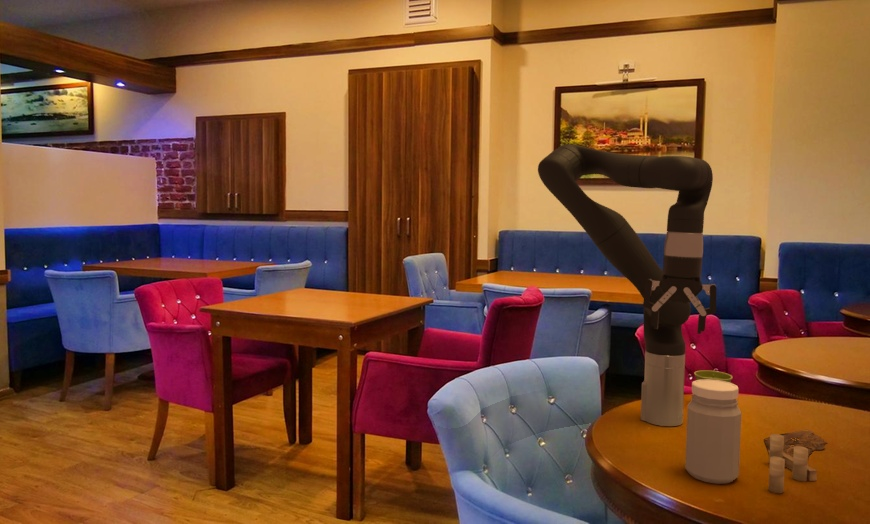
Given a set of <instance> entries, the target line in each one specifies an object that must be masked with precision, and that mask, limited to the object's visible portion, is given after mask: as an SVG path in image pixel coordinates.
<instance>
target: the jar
mask: <svg viewBox="0 0 870 524" xmlns="http://www.w3.org/2000/svg"><path fill="white" fill-rule="evenodd" d="M739 391H740V390H739V387H738V385H736V384H734V383H733V382H731V381H730V382H725V381H720V380H710V379H703V380H696V379H695V380H693V381H692V382H691V393H692V394H691V400H690V402H688V404H687V411H686V412H687V414H686V417H687V418H686V440H685V470H686V471H687V473H688V474H689V475H690V476H692V477H693V479H697V480H699V481H702V482H703V483H710V484H716V485H717V484H718V485H720V484H723V485H724V484H729V483H731V482H734V481H735V480H736V479H737V478H738V477H739V476H740V455H741V435H742V433H741V432H742V431H741V430H742V426H741V425H742V412H741V409H740V407H739V406H738V405H739V402H738V400H737V399H738V398H739ZM733 480H734V481H733Z"/></svg>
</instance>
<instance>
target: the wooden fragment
mask: <svg viewBox="0 0 870 524" xmlns="http://www.w3.org/2000/svg"><path fill="white" fill-rule="evenodd" d="M807 430H808V431H803V430H797V431H794V432H793V431H792V432H785V433H780V434H779V435H782V436H784V445H783V453H786V454H788V455H790V456H791V457H793V455H794V447H795V446H801V447H805V448H807V449H808V458H810V455H812V454H813V452H814V451H816V452H817V451H821V450H824V449H826V447H825V444H828V442H827V441H825V440H824V439H823V438H822V437H821V436H818V435H817V434H815V432H814V431H812V430H810V429H807ZM791 438H792V439H794V440H792V439H791ZM795 438H796V439H795ZM797 439H799V440H797ZM763 440H764V442H765V445H766V448H767V452H768V455H770V436H769V437H765V439H763ZM795 440H796V441H795ZM791 445H794V446H791Z"/></svg>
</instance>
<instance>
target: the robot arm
mask: <svg viewBox="0 0 870 524" xmlns="http://www.w3.org/2000/svg"><path fill="white" fill-rule="evenodd" d="M537 174H538V177H539V179H540V180H541V182H542V184H543V185H544V186H545V188H547V190H548V191H549V192H550V193H551V194H552V195H553V197H555V198H556V200H558V201H559V203H560V204H561V205H562V206H564V208H565V209H566V210H567V211H568V212H569V213H570V214H571V215H572V217H574V219H575V220H576V221H577V223H578V224H579V225H580V227H582V229H583V230H584V231H585V232H586V234H587V235H588V237H589V239H591V241H592V242H593V243H594V245H595V246H596V247H597V248H598V250H599V251H600V252H601V254H602V255H603V257H604V258H606V260H607V261H608V262H609V263H610V264H611V266H613V267H614V268H615V269H616V270H617V271H618V272H619V273H620V274H621V275H623V276H624V278H626V279H627V280H628V281H629V282H630V283H631V284H632V285H633V286H634V287H635V288H636V289H637V292H639V294H640V295H641V297H642V298H643V302H642V306H643V338H644V339H643V340H644V344H645V346H644V350H645V351H644V353H645V354H644V380H643V382H641V396H640V397H641V403H640V421H644V422H647V423H649V424H651V425H655V426H661V427H677V426H681V425H682V424H683V421H684V400H685V399H684V397H685V396H684V395H685V370H686V368H685V366H686V364H685V363H686V342H685V339H684V336H683V332H682V331H683V330H682V325H683V324H686V322H688V320H689V319H690V316H691V311H692V307H691V304H692V305H693V306H694V308H695V309H696V310H697V312H698V313H699V314H698V321H697V332H696V334H697V335H701V334H702V332H705V330H706V320H707V317H708V316H709V315H714V314H716V313H717V285H716V284H715V283H711V284H703V283H702V281H701V280H702V279H701V278H702V269H703V267H702V266H703V254H704V238H703V237H704V234H703V232H704V225H705V223H704V222H705V212H706V211H705V210H706V208H707V205H708V202H709V199H710V196H711V190H712V187H713V181H714V179H713V177H714V176H713V174H714V173H713V170H712V167H711V165H710V163H708V162H707V161H706V160H704V159H702V158H698V157H691V156H684V155H683V156H682V155H681V156H679V155H678V156H677V155H673V156H671V155H669V156H657V155H646V154H644V155H643V154H642V155H641V154H626V153H625V154H624V153H614V152H611V151H605V150H599V149H596V148H592V147H591V148H590V147H586V146H582V145H578V144H571V143H569V144H568V143H566V144H562V145H560V146H558V147H557V148H555V149H554V150H553V151H552V152H551V153H549V154H548V155H546V156H545V157H544V158H542V160H541V161H540V162H539V163H538V166H537ZM588 175H601V176H604V177H607V178H608V179H610V180H611V181H613V182H614V183H616V184H618V185H621V186H624V187H629V188H639V189H661V190H667V191H676V192H678V194H677V199H676V202H675V203H674V204H672V205H670V206H669V208H668V213H667V221H666V222H667V223H666V232H665V233H666V234H665V240H664V246H663V247H664V248H663V261H662V268H661V267H660V265H659V264H658V263H657V261H656V259H654V256H652V254H651V252H650V251H649V249H648V248H647V246H646V245H645V243H644V242H643V241H642V239H641V238H640V236H639V235H638V233H637V232H636V231H635V230H634V228H633V227H632V226H631V225H630V223H629V222H628V221H627V219H626V218H625V217H624V216H623V215H622V214H621V213H619V212H617V211H615V210H613V209H612V208H610V207H607V206H605V205H602V204H600V203H599V202H597V201H595V200H593V199H592V198H591V197H589V196H588V195H587V194H586V193H585V191H584V190H583V189H582V188H581V187H580V185H579V184H578V183H577V182H578V181H579V180H580V179H581V178H582V177H583V176H588ZM703 290H704V292H705V294H706V295H707V296H709V307H706V308H705V306H704V305H703V304H702V302H701V301H700V300H699V298H698V295H699V294H700V293H701V292H702V291H703Z"/></svg>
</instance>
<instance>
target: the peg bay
mask: <svg viewBox="0 0 870 524" xmlns="http://www.w3.org/2000/svg"><path fill="white" fill-rule="evenodd" d="M769 437H770V454H769V455H768V456H769V457H768V458H769V460H768V464H769V472H768V491H770V492H771V493H773V494H783V493H784V487H785V485H784V484H785V468H786V467H787V468H786V469H788V468H789V469H788V470H790V469H791V470H790V471H791V472H792V476H791V477H792V479H793V480H795V481H798V482H807V481H808V482H816V481H817V475H818V471H817V470H816V469H815V468H813V467H811V466H809V465H808V461H809V457H808V456H809V455H808V449H807V448H805V447H801V446H795V447H794V455H793V457H791V456H790V455H788V454H786V453H783V445H784V436H782V435H779V434H778V433H771V434H770V436H769ZM785 466H786V467H785Z"/></svg>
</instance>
